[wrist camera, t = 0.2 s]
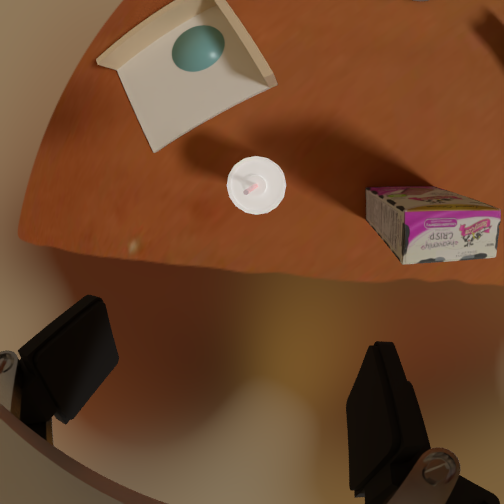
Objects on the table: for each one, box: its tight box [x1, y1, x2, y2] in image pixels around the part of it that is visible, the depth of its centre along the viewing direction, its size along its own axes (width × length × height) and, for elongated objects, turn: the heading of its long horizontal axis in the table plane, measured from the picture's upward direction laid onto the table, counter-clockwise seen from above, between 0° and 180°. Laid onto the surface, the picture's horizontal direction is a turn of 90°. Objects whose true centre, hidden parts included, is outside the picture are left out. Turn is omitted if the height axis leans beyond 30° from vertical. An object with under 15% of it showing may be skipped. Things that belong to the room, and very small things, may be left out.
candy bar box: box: [366, 186, 501, 264], centre depth 26 cm, size 11×5×16 cm, turn 97°
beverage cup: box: [227, 156, 286, 215], centre depth 30 cm, size 6×6×14 cm
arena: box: [96, 0, 278, 153], centre depth 30 cm, size 20×18×6 cm
